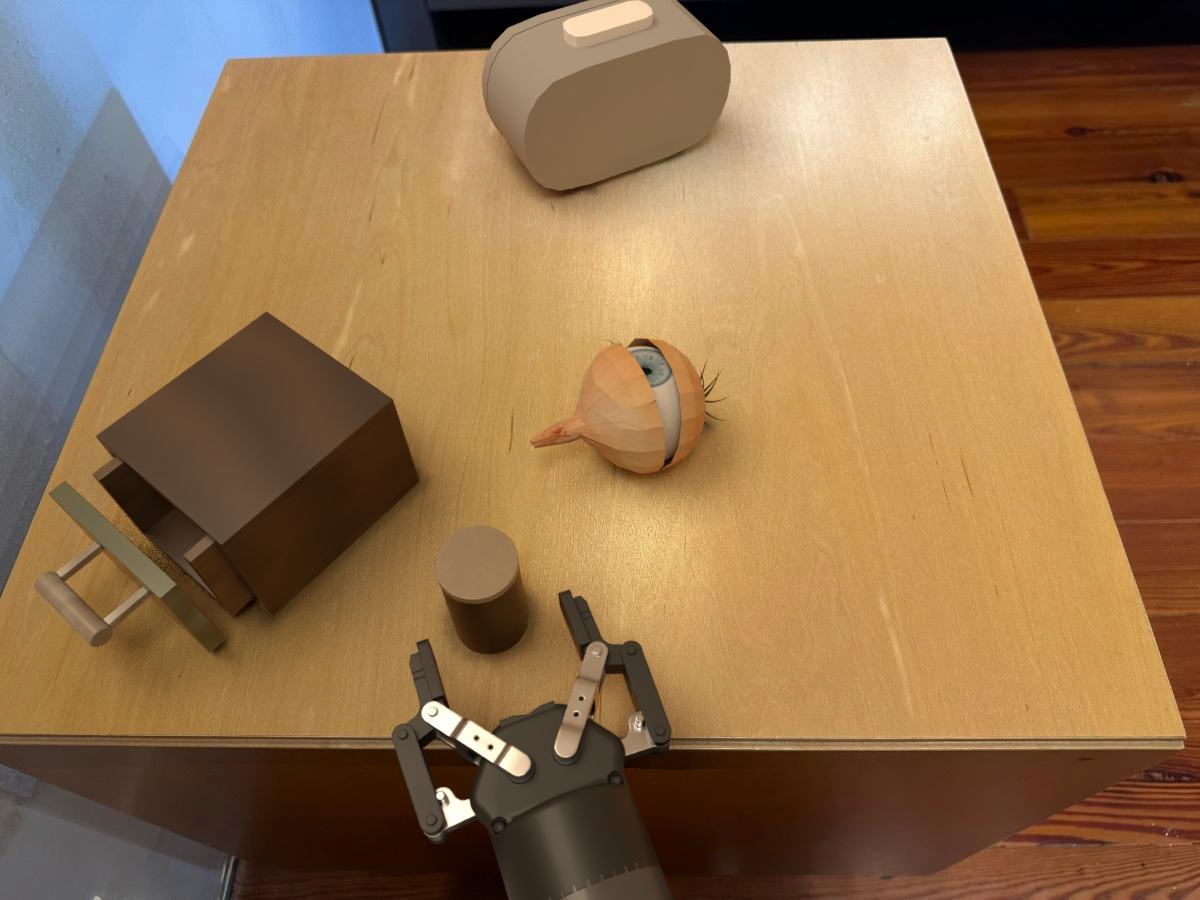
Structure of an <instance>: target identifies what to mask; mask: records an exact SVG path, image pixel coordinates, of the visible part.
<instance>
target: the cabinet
mask: <svg viewBox="0 0 1200 900" xmlns="http://www.w3.org/2000/svg"><path fill="white" fill-rule="evenodd" d="M95 438H96V439H97V440H98V441H99V443H100V444H101V445H102V447H103V448H104V449H105V450H106V452H107V453H108V454H109V455H110V456H111V459H113V458H114V457H117V458H119V459H120V460H121V461H122V462H123V463H124V464H125V465H127V466H128V467H129V468H130V469H131V470H132V471H133V472H135V473H136V474H137V475H138V476H139V477H140V478H141V479H143V480H144V481H145V482H146V483H147V484H148V485H150V486H151V487H152V488H153V489H154V490H155V491H156V492H158V493H159V494H160V495H161V496H162V497H163V498H164V499H166V500H167V501H168V502H169V503H170V504H171V505H173V506H174V507H175V508H176V509H177V510H178V511H179V512H181V513H182V514H183V515H184V516H185V517H186V518H187V519H189V520H190V521H191V522H192V523H193V524H194V525H196V526H197V527H198V528H199V529H200V530H201V531H202V532H204V533H205V534H206V535H207V536H208V537H209V538H210V539H212V540H213V541H214V542H215V543H216V544H217V545H218V546H219V547H220V549H221V550H222V552H223V553H224V554H225V556H226V557H227V558H228V560H229V561H230V563H231V564H232V565H233V567H234V568H235V570H236V571H237V572H238V574H239V575H240V576H241V578H242V579H243V581H244V582H245V583H246V585H247V586H248V587H249V589H250V590H251V592H252V593H253V594H254V596H255V597H254V598H253V599H252V600H253V601H254V602H255V603H256V604H257V605H258V606H259V607H260V608H262V609H263V611H265V613H267V614H268V615H270V617H274V616H275V615H276V614H278V613H279V612H280V611H281V610H282V609H283V608H284V607H285V606H286V605H287V604H288V603H290V602H291V601H292V600H293V599H294V598H295V597H296V596H297V595H298V594H300V592H302V590H303V589H305V588H306V587H307V586H308V585H309V584H310V583H311V582H312V581H313V580H315V578H317V577H318V576H319V575H320V574H321V573H322V572H323V571H325V569H327V567H329V566H330V565H331V564H332V563H333V562H334V561H336V559H337V558H338V557H339V556H341V555H342V554H343V553H344V552H345V551H346V550H347V549H348V548H349V547H350V546H351V545H352V544H353V543H355V541H357V540H358V539H359V538H360V537H361V536H363V535H364V533H366V531H368V530H369V529H370V528H371V527H372V526H373V525H374V524H376V522H377V521H378V520H380V519H381V518H382V517H383V516H384V515H385V514H386V513H387V512H388V511H390V510H391V508H392V507H394V506H395V505H396V504H397V503H398V502H399V501H401V499H402V498H404V497H405V496H406V494H408V493H409V492H410V491H412V490H413V488H414V487H416V486H417V484H419V483H420V478H419V475H418V472H417V469H416V466H415V462H414V459H413V457H412V454H411V451H410V448H409V444H408V441H407V438H406V435H405V432H404V429H403V426H402V422H401V418H400V416H399V414H398V409H397V407H396V404H395V401H394V398H392V397H391V396H389V395H388V394H386V393H384V392H383V391H382V390H381V389H379V388H378V387H376V386H375V385H374V384H372V383H370V382H369V381H368V380H366V379H365V378H364V377H361V376H360V375H359V374H358V373H356V372H354V371H353V370H352V369H351V368H349V367H348V366H346V365H344V364H343V363H342V362H340V361H339V360H337V359H336V358H335V357H333V356H332V355H330V354H329V353H327V352H326V351H324V350H323V349H321V348H320V346H317V345H316V344H315V343H313V342H311V340H308V339H307V338H305V337H304V336H303V335H302V334H300V333H299V332H297V331H296V330H294V329H293V328H291V327H290V326H289V325H287V324H286V323H284V322H283V321H282V320H280V319H278V318H277V317H275V316H274V315H272V313H270V312H268V311H264V312H263V313H262V314H260V315H259V316H257V318H255V319H254V320H252V321H251V322H249V324H247V325H245V326H244V327H243V328H241V329H240V330H239V331H237V332H236V333H235V334H233V335H232V336H230V337H229V338H228V339H226V340H225V341H224V342H222V343H220V344H219V345H218V346H217V347H215V348H214V349H213V350H212V351H210V352H208V353H207V354H206V355H204V356H203V357H201V358H200V359H199V360H198V361H196V362H195V363H194V364H192V365H190V366H189V367H188V368H186V369H185V370H184V371H182V372H181V373H180V374H178V375H177V376H175V377H174V378H173V379H171V380H170V381H169V382H168V383H166V384H164V385H163V386H162V387H161V388H159V389H158V390H156V391H155V392H154V393H152V394H151V395H150V396H148V397H147V398H146V399H144V400H142V401H141V402H140V403H139V404H137V405H136V406H135V407H133V408H132V409H130V410H129V411H128V412H127V413H125V414H124V415H122V416H121V417H120V418H118V419H117V420H115V421H114V422H112V423H111V424H110V425H108V426H107V427H106V428H104V429H103V430H102V431H100V432H99V433H98V434H96V435H95Z"/></svg>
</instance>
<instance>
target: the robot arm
mask: <svg viewBox="0 0 1200 900" xmlns="http://www.w3.org/2000/svg"><path fill="white" fill-rule="evenodd" d="M557 596H558V597H557V598H558V604H559V609H560V611H561V615H562V616H563V617H562V618H563V619H564V622H565V624H566V627H567V629H568V632H569V634H570V637H571V639H572V642H573V644H574V648H575V649H576V652H577V655H578V657H579V659H580V662H582V663H581V666H580V669H579V672H578V675H577V676H576V678H575V680H574V684H573V685H572V690H571V693H570V695H569V698H568V702H567V704H566V703H562V702H561V703H557V702H556V703H555V700H550V701H548V702H546V703H542V704H540V705H539V706H537V707H536V708H534V709H533V710H532V711H530V712H529V713H526V714H515V715H511V716H508V717H506V718H503V719H500V720H499V721H498V722H499V724H498V725H497V726H495V728H493V730H492V731H491V732H490V731H489V730H487V729H485V728H483V727H482V726H481V725H480V724H477V723H476V722H474V721H472V720H471V719H469V718H467V717H463V716H461V715H459V714H458V713H457V712H455V711H453V710H452V709H451V707H450V703H449V700H448V696H447V694H446V690H445V686H444V683H443V679H442V676H441V673H440V670H439V667H438V663H437V659H436V656H435V654H434V650H433V648H432V645H431V642H430V640H429V638H426V639H422V640H419V641H416V642H415V645H416V647H417V651H418V652H416V653H412V654H410V655H409V661H408V665H409V669H410V672H411V676H412V679H413V683H414V687H415V690H416V694H417V698H418V702H419V709H418V712H417V713H416V715H415V716H413V717H412V718H411V719H409V721H408V722H406V723H400V724H398V725H396V726H395V727H394V728H393V730H392V732H391V741H392V744H393V747H394V750H395V753H396V756H397V760H398V762H399V765H400V769H401V772H402V775H403V778H404V781H405V783H406V787H407V791H408V793H409V796H410V800H411V802H412V806H413V809H414V812H415V815H416V818H417V820H418V825H419V827H420V829H421V830H422V832H423V834H424V835H425V836H426V837H427V839H428V840H429V841H430V842H431V843H432V844H436V845H440V844H443V843H445V842H446V841H447V840H448V839H449V837H450V835H451V833H452V832H454V831H456V830H459V829H461V828H463V827H465V826H467V825H470V824H471V823H473V822H476V821H477V820H478V821H479V822H480V823H481V825H483V826H484V828H485V829H486V830H487V832H488V835H489V837H490V840H491V844H492V847H493V850H494V854H495V857H496V861H497V864H498V867H499V871H500V874H501V877H502V881H503V884H504V888H505V891H506V894H507V898H508V900H675V899H674V897H673V895H672V892H671V889H670V887H669V884H668V881H667V879H666V877H665V874H664V871H663V869H662V866H661V864H660V860H659V858H658V856H657V853H656V851H655V848H654V846H653V843H652V840H651V838H650V836H649V833H648V831H647V828H646V825H645V822H644V821H643V818H642V815H641V812H640V810H639V808H638V805H637V802H636V800H635V798H634V794H633V792H632V790H631V787H630V785H629V782H628V779H627V776H626V771H625V765H626V762H628V761H629V760H633V759H636V758H639V757H642V756H645V755H648V754H651V755H652V756H654V757H663V756H665V755H667V753H668V752H669V750H670V745H671V740H672V733H673V732H672V731H673V730H672V727H671V724H670V721H669V718H668V715H667V713H666V710H665V707H664V705H663V702H662V699H661V696H660V694H659V691H658V688H657V685H656V683H655V680H654V678H653V675H652V672H651V669H650V666H649V664H648V661H647V659H646V655H645V652H644V649H643V647H642V646H641V643H639V642H638V641H637V640H636V641H635V640H626V641H625V642H623V643H617V644H615V643H614V644H613V643H610V642H609V643H608V642H607V641H606V640H604V639H603V637H602V635H601V632H600V630H599V628H598V625H597V623H596V620H595V618H594V616H593V613H592V611H591V608H590V605H589V604H588V601H587V600H586V599H585V598H584V597H583V596H582V595H581V594H580V595H577V596H573V594H572V591H571V589H566V590H563V591H560V592H558V593H557ZM607 675H622V677H623V680H624V682H625V686H626V688H627V692H628V694H629V698H630V701H631V703H632V706H633V709H634V712H633V713H632V714H631V715H630V716H629V717H628V723H627V734H626V736H624V737H622V738H620V737H619V736H618V735H617V734H616V733H614V732H612V731H611V730H609V729H608V728H606V727H604V726H603V725H601V724H600V723H598V722H596V721H595V718H596V715H597V712H598V708H599V705H600V698H601V694H602V692H603V689H604V685H605V682H606V679H607ZM436 739H437V740H438V741H440V742H442V743H443V744H445V745H446V746H448V747H449V748H451V749H453V750H454V751H455V752H456V753H458V754H459V755H460V756H461V757H462V758H463V759H465V760H466V761H468V762H469V763H471V764H472V765H474V766H475V767H477V770H476V773H475V776H474V779H473V782H472V785H471V788H470V791H469V798H468V799H459V798H458V797H456V795H455V794H454V792H453V790H451V788H449V787H445V786H441V787H438V788H437V785H436V783H435V779H434V776H433V773H432V770H431V768H430V765H429V762H428V759H427V756H426V753H425V751H424V749H425V748H426V747H427V746H428V745H430V744H431V743H432V742H433V741H435V740H436Z"/></svg>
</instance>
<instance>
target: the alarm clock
mask: <svg viewBox="0 0 1200 900" xmlns="http://www.w3.org/2000/svg"><path fill="white" fill-rule="evenodd" d="M731 75H732V65H731V61H730V56H729V53H728V49H727V48H726V47H725V46H724V44H723V43H722V42H721V40H720V39H719V38H718V37H717V36H716V35H715V34H713V32H711V31H710V30H709V29H708V28H707V27H706V26H705V25H704V24H703V23H702V22H701V21H699V20H698V19H697V18H696V17H695V16H694V15H693V14H692V13H691V12H690V11H689V10H688V9H687V8H685V6H683V5H682V4H681V3H680V2H679V1H678V0H586V1H581V2H577V3H575V4H571V5H568V6H564V7H561V8H557V9H555V10H550V11H547V12H544V13H540V14H538V15H535V16H533V17H530V18H528V19H526V20H524V21H521V22H519V23H516V24H513V25H512V26H509V27H507V28H506V29H505V30H504V32H503V33H501V34H500V35H499V36H498V38H496V40H495V41H494V42H493V43H492V45H491V47H490V48H489V51H488V53H487V55H486V56H485V60H484V64H483V69H482V75H481V92H482V99H483V103H484V106H485V110H486V113H487V114H488V116H489V119H490V120H491V122H492V124H493V126H494V127H495V128H496V130H497V131H498V132H499V134H500V135H501V137H502V138H503V139H504V140H505V142H506V143H507V144H508V146H509V147H510V148H511V150H512V151H513V153H514V154H515V156H517V158H518V160H519V161H520V162H521V163H522V165H523V166H524V168H525V169H526V170H527V171H528V173H529V174H530V175H531V177H532V178H533V180H535V181H536V182H537V183H538V184H540V185H541V186H542V187H543V188H545V189H546V188H547V189H552V190H555V191H560V192H561V191H566V190H574V189H577V188H579V187H584V186H588V185H591V184H594V183H595V184H596V183H598V182H600V181H603V180H607V179H609V178H612V177H615V176H617V175H620V174H623V173H625V172H626V173H627V172H629V171H632V170H634V169H637V168H641V167H643V166H647V165H649V164H652V163H654V162H657V161H660V160H663V159H666V158H669V157H671V156H674V155H676V154H677V153H679V152H682V151H684V150H686V149H688V148H690V147H693V146H694V145H696V144H698V143H699V142H700V141H701V140H703V138H704V137H706V135H708V133H710V132H711V131H712V130H713V128H714V126H715V125H716V123H717V122H718V120H719V119H720V118H721V116H722V114H723V110H724V108H725V107H726V106H725V105H726V104H727V100H728V97H729V92H730V86H731V80H732V79H731V78H732V76H731Z"/></svg>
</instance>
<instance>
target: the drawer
mask: <svg viewBox="0 0 1200 900" xmlns="http://www.w3.org/2000/svg"><path fill="white" fill-rule="evenodd" d="M91 476H92V477H93V478H94V479H95V480H96V482H98V484H99V485H100V486H101V487H102V489H103V490H104V491H105V492H106V493H107V495H108V496H110V498H111V499H112V501H114V503H115V504H116V505H117V507H119V509H120V511H122V512H123V514H124V515H125V516H126V517H127V518H128V519H129V520H130V522H131V523H132V524H133V525H134V527H135V528H136V529H137V530H138V531H139V533H140V534H141V535H143V537H145V538H146V539H147V540H148V541H149V542H150V543H151V544H152V545H153V546H155V547H156V548H157V549H158V550H159V551H160V552H161V553H163V555H164V556H166V557H167V559H169V560H170V561H171V562H172V563H174V564H175V566H177V567H178V568H179V569H180V570H181V571H182V572H184V574H185V575H187V576H188V577H189V578H190V579H191V580H192V581H193V582H194V583H195V584H196V585H198V586H199V587H200V588H201V589H202V590H203V591H204V592H206V593H207V595H209V596H210V597H211V598H212V599H213V600H214V601H215V602H216V603H218V604H219V605H220V606H221V607H222V608H223V609H224V610H225V611H226V612H228V614H230V615H231V616H235V615H236V614H237V613H238V612H240V611H241V610H242V609H243V608H244V607H245V606H247V604H248V603H250V601H252V600H253V598H254V597H255V596H254V594H253V593H252V592H251V590H250V589H249V587H248V586H247V585H246V583H245V582H244V581H243V579H242V578H241V576H240V575H239V574H238V572H237V571H236V570H235V568H234V567H233V565H232V564H231V563H230V561H229V560H228V558H227V557H226V556H225V554H224V553H223V552H222V550H221V549H220V547H219V546H218V545H217V544H216V543H215V542H214V541H213V540H212V539H210V538H209V537H208V536H207V535H206V534H205V533H204V532H202V531H201V530H200V529H199V528H198V527H197V526H196V525H194V524H193V523H192V522H191V521H190V520H189V519H187V518H186V517H185V516H184V515H183V514H182V513H181V512H179V511H178V510H177V509H176V508H175V507H174V506H173V505H171V504H170V503H169V502H168V501H167V500H166V499H164V498H163V497H162V496H161V495H160V494H159V493H158V492H156V491H155V490H154V489H153V488H152V487H151V486H150V485H148V484H147V483H146V482H145V481H144V480H143V479H141V478H140V477H139V476H138V475H137V474H136V473H135V472H133V471H132V470H131V469H130V468H129V467H128V466H127V465H125V464H124V463H123V462H122V461H121V460H120V459H119V458H117V457H114V458H111V459H110V460H109V461H108V462H106V463H105V464H103V465H102V466H100V468H98V469H97V470H96V471H94V472H93V473H92V475H91ZM47 495H48V496H50V498H51V499H52V500H53V501H54V502H55V503H56V504H57V505H58V506H59V508H61V510H62V511H64V513H66V514H67V516H68V517H69V518H70V519H71V520H72V521H73V522H74V523H75V524H76V526H78V528H79V529H81V531H83V533H84V534H85V535H86V536H87V537H88V538H89V539H90V540H91V541H92V543H91V544H90V545H88V546H87V547H85V548H84V549H83V550H82V551H81V552H79V553H78V554H76V555H75V556H74V557H72V558H71V559H70V560H69V561H67V563H65V564H64V565H63V566H62V567H60V568H59V569H58V570H57V571H46V572H44V573H41V574H40V575H39V576H38V577H37V578H36V579H35V580H34V583H33V587H34V590H35V591H37V593H38V594H39V595H40V596H41V597H42V598H43V599H44V600H45V601H46V602H47V603H48V604H50V606H51V607H52V608H53V609H54V610H55V611H56V612H57V613H58V615H60V616H61V617H62V618H63V619H64V620H65V621H66V622H67V623H68V624H69V625H70V626H71V627H72V628H73V630H75V631H76V632H77V633H78V635H80V637H81V638H82V639H83V640H84V641H85V642H86V643H88V645H90V646H91V647H92V648H100V647H102V646H104V645H106V644H107V643H108V642H109V641H110V640H111V639H112V638H113V635H114V630H113V629H115V628H116V627H117V626H118V625H119V624H120V623H122V622H123V621H124V620H126V618H127V617H128V616H130V615H131V614H132V613H134V612H135V611H136V610H137V609H138V608H140V606H142V605H143V604H144V603H145V602H146V601H148V600H149V599H152V601H154V602H155V603H156V604H157V605H158V606H159V607H160V608H161V609H162V610H163V611H164V612H165V613H166V614H167V615H169V617H171V618H172V620H173V621H175V622H176V623H177V624H178V625H179V626H180V627H181V628H182V629H183V630H184V631H185V632H186V633H188V635H190V637H192V638H193V639H194V641H196V642H197V643H198V644H199V645H200V646H201V647H202V648H204V650H205V651H207V652H208V653H209V654H211V653H213V651H214V650H216V649H217V648H218V647H219V646H220V645H221V644H222V643H223V642H224V641H225V637H224V636H222V634H221V632H220V631H218V629H217V628H216V627H215V626H214V625H213V624H212V622H211V621H210V620H209V619H208V618H207V616H206V615H205V614H204V613H203V611H202V610H201V609H200V608H199V607H198V606H197V605H196V603H194V601H193V600H192V599H191V598H190V596H188V594H187V593H186V592H185V591H184V590H183V589H182V587H181V586H180V585H179V584H178V582H176V581H175V580H174V579H173V578H172V577H171V576H170V575H169V574H167V572H165V571H164V570H163V569H162V568H161V567H160V566H159V565H158V564H157V563H155V561H153V560H152V559H151V558H150V557H149V556H148V555H147V554H146V553H144V551H142V550H141V549H140V548H139V547H138V546H137V545H136V544H134V542H133V541H132V540H130V538H128V537H127V536H126V535H125V534H124V533H123V532H122V531H121V530H120V529H118V527H116V526H115V525H114V524H113V523H112V522H111V521H110V520H109V519H108V518H107V517H105V516H104V515H103V514H102V512H100V511H99V510H98V509H97V508H96V507H94V506H93V504H91V503H90V502H89V501H88V500H87V499H86V498H85V497H84V496H83V495H82V494H81V493H79V492H78V491H77V490H76V489H75V488H74V487H73V486H72V485H71V484H70V483H69V482H68V481H66V480H64V481H62V482H61V483H60V484H58V485H57V486H55V487H54V488H53V489H52V490H51V491H49V492H48V494H47ZM102 553H103V554H104V555H105V556H106V557H107V558H108V559H109V560H110V561H111V562H112V563H113V564H114V565H115V566H116V567H118V568H119V569H120V570H121V572H123V573H124V574H125V575H126V576H127V577H128V578H129V579H130V580H131V581H133V583H135V585H137V586H138V587H139V589H137V590H136V591H135V592H134V593H133V594H132V595H130V596H129V597H127V599H126V600H124V601H123V602H122V603H120V604H119V605H118V606H117V607H116V608H115V609H113V610H112V611H111V612H110V613H109V614H108V615H106V616H105V617H104V618H102V617H101V616H100V615H99V614H98V613H97V612H96V610H94V609H93V608H92V607H91V606H90V605H89V604H88V603H87V602H86V601H85V600H84V599H83V598H82V597H81V596H80V595H79V594H78V593H77V592H76V591H75V590H74V589H73V588H72V587H71V586H70V585H69V584H68V583H67V582H66V581H68V580H69V579H70V578H72V577H73V576H74V575H75V574H77V573H78V572H79V571H81V570H82V569H83V568H84V567H86V566H87V565H88V564H89V563H91V562H92V561H93V560H94V559H95V558H97V557H98V556H99V555H100V554H102Z"/></svg>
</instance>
